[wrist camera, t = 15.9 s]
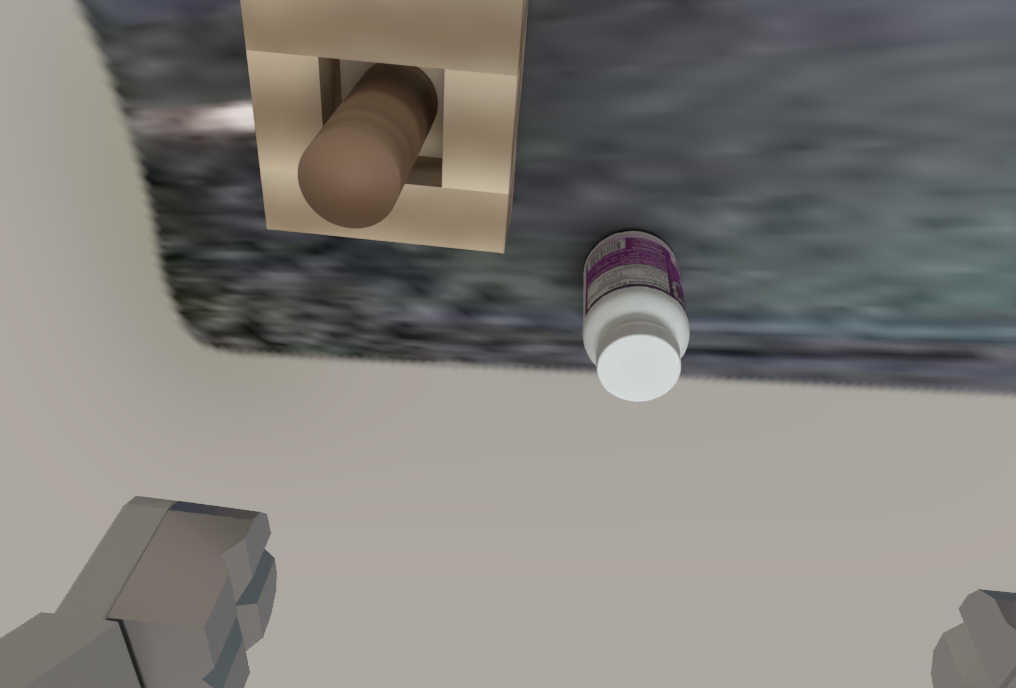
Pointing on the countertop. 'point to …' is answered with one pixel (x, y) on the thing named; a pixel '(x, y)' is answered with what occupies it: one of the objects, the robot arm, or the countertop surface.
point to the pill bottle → (634, 315)
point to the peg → (369, 146)
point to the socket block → (455, 131)
